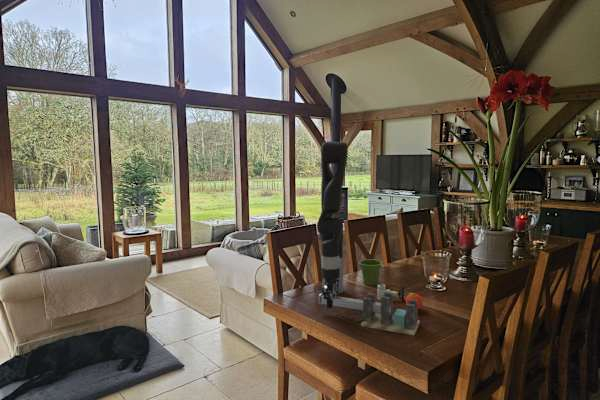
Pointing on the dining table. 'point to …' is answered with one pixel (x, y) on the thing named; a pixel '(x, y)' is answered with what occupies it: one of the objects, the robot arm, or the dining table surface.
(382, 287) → the valve
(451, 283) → the dining table surface
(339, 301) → the shaft
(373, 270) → the plant pot
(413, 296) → the clementine
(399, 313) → the spacer
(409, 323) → the frame
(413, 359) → the dining table surface
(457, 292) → the dining table surface
